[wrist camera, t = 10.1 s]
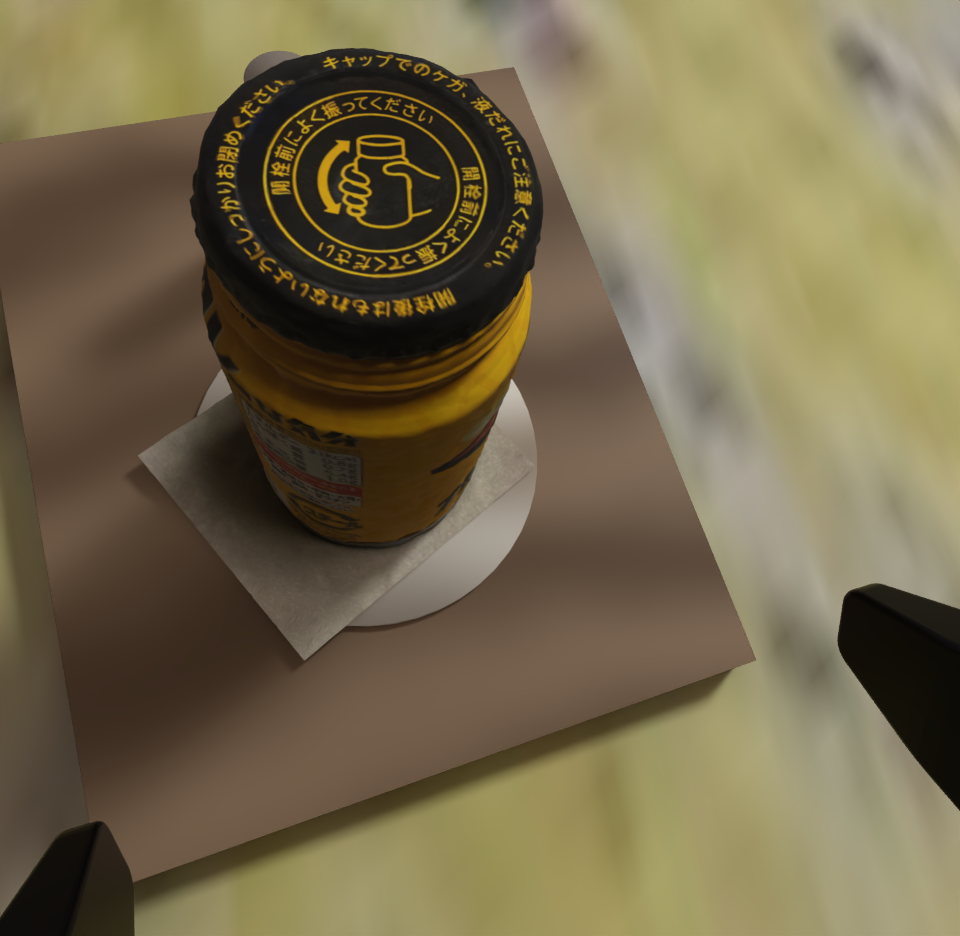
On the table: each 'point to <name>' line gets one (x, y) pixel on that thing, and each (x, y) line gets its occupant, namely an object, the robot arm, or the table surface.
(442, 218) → the condiment
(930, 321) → the table surface
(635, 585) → the locating plate
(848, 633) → the robot arm
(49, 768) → the table surface
